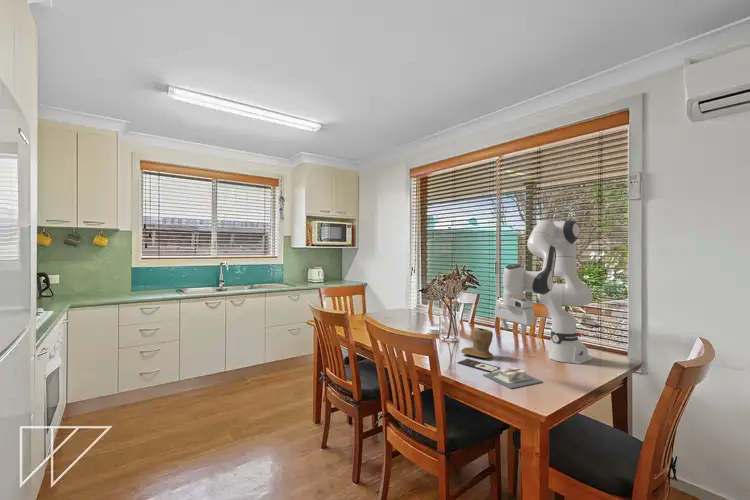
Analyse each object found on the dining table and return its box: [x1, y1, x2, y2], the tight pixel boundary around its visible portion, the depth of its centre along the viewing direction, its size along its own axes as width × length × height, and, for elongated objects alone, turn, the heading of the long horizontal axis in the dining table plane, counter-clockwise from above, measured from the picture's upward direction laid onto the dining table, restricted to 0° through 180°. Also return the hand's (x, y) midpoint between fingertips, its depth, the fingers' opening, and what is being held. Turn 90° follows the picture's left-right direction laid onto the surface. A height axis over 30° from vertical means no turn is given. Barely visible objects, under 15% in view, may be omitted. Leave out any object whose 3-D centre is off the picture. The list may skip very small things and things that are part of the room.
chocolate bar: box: [456, 358, 500, 373], centre depth 177 cm, size 9×1×18 cm
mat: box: [482, 371, 544, 390], centre depth 160 cm, size 18×17×1 cm
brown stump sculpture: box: [461, 327, 494, 359], centre depth 193 cm, size 15×12×15 cm
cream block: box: [498, 367, 527, 382], centre depth 160 cm, size 10×6×3 cm, turn 113°
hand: (513, 331), depth 163 cm, fingers open, 8 cm apart
